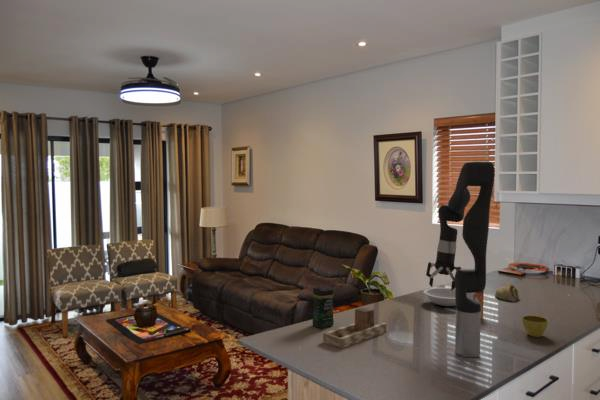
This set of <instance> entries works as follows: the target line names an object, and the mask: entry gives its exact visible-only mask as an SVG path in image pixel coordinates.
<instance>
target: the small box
mask: <svg viewBox="0 0 600 400" xmlns="http://www.w3.org/2000/svg"><path fill="white" fill-rule="evenodd" d="M484 291H485V290H484ZM484 291H483V292H481V293H466V296H467V298H469V299H471V300H474V301H477V302H479V303H480V305H481V318H483V317H484V300H485V299H484V293H485V292H484Z"/></svg>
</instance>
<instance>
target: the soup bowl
mask: <svg viewBox="0 0 600 400" xmlns="http://www.w3.org/2000/svg"><path fill="white" fill-rule="evenodd" d="M423 294H424V295H426V296H427V298H428V299H429V301H431V302H432V304H433V303H434V305H439V306H442V307H456V301H455V289H453V290H451V287H429V288H426V289H424V290H423Z"/></svg>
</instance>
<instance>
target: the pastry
mask: <svg viewBox="0 0 600 400" xmlns="http://www.w3.org/2000/svg"><path fill="white" fill-rule="evenodd" d="M494 297H495V298H496V299H499V300H501V301H506V302H511V303H512V302H517V301H518V300H519V298H520V295H519V291H518V289H517V288H516V287H515V286H514V285H512V284H511V285H505V286H502V287H499V288H498V287H497V289H496V291H495V294H494Z"/></svg>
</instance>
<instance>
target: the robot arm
mask: <svg viewBox="0 0 600 400" xmlns="http://www.w3.org/2000/svg"><path fill="white" fill-rule="evenodd" d="M495 171H496V170H495V166H494V164H493V162H491V161H486V160H485V161H484V160H483V161H467V162H465V163H464V164H463V165H462V167H461V169H460V172H459V175H458V179H457V181H456V185H455V189H454V191H453V193H452V195H451V197H450V198H449V200H448V203H447V204H445V203H444V204H442V205H440V207H439V208H438V217H439V218H438V219H439V225H440V229H439V230H440V231H439V239H438V244H437V251H436V259H435V262H431V261H428V263H427V268H426V272H425V275H426V277H428V278H429V282H428V283H429V286H430V288H433V285H434V278H435V276H436V275H444V276H448V275H449V276H450V278H451V280H452V281H451V287H450V288H451V290H453V289H455V301H456V306H455V329H454V330H455V332H454V335H455V337H454V338H455V340H454V342H455V343H454V352H455V354H457V355H459V356H461V357H463V358H480V355H481V321H482V320H481V319H482V317H481V305H480V303H479V302H477V301H474V300H471V299H469V298H467V296H466V293H481V292H483V291H485V289H486V286H487V285H486V283H487V247H488V239H489V231H490V230H489V229H490V228H489V227H490V209H491V201H492V194H493V191H494V190H493V188H494V183H495V176H496V174H495ZM468 187H480V188H479V193H478V196H477V198H476V200H475V202H474V203H473V205H472V206H471V207H470V208H469V209H468V211H467V212H466V214H465V211H466V208H467V206H468V204H469V203H470V201H471V192H470V190H469V188H468ZM448 222H451V223H453V222H454V223H460V222H462V239H463V242H464V243H465V244H466V246H467V248H468V249H469V251H470V253H471V255H472V257H473V261H474V268H462V267H461V266H455V259H456V252H457V237H458V229H457V228H456V227H453V226H450V225H449V224H448ZM433 267H434V268H435V270H434V271H433V272H432V273H430V272H431V269H432V268H433ZM454 270H455V275H454V274H453V273H452V272H454Z"/></svg>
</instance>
